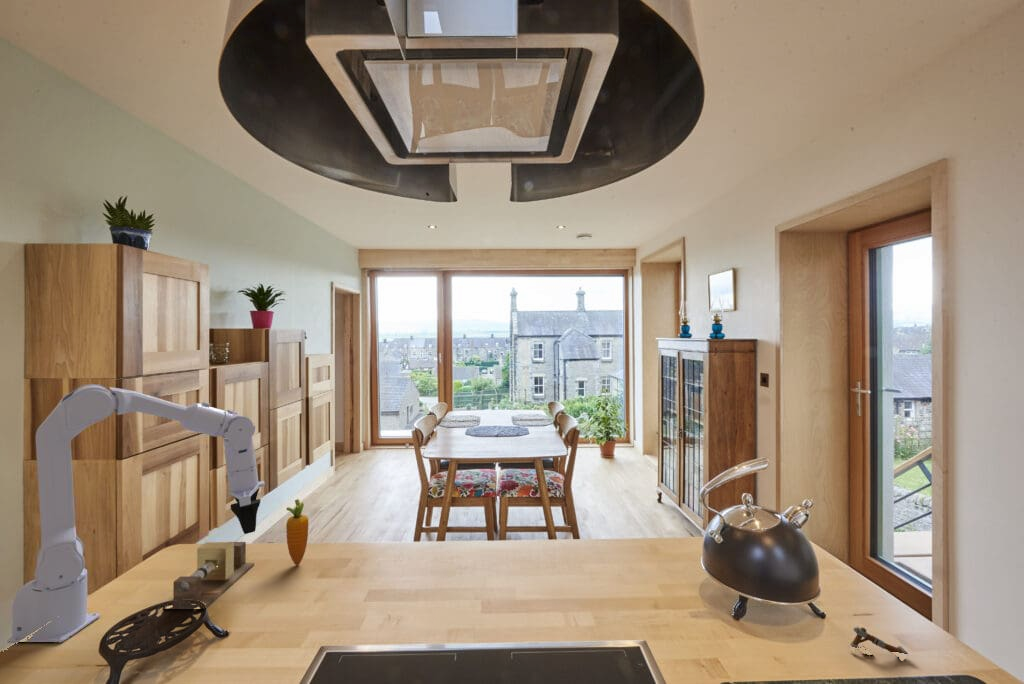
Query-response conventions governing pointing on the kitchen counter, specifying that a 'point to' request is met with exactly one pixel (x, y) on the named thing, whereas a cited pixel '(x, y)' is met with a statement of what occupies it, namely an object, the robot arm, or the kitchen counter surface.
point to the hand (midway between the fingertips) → (249, 525)
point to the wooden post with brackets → (873, 641)
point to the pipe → (203, 571)
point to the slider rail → (212, 588)
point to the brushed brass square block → (220, 553)
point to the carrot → (297, 533)
